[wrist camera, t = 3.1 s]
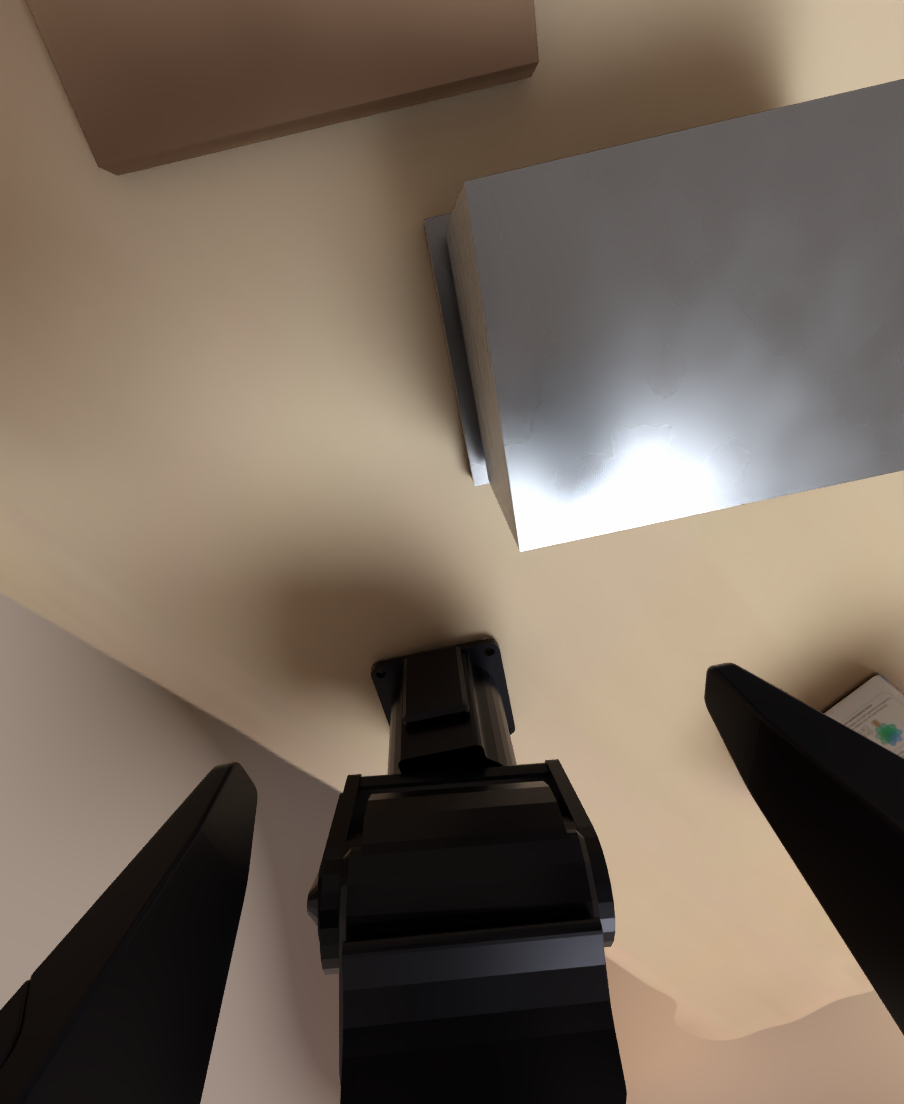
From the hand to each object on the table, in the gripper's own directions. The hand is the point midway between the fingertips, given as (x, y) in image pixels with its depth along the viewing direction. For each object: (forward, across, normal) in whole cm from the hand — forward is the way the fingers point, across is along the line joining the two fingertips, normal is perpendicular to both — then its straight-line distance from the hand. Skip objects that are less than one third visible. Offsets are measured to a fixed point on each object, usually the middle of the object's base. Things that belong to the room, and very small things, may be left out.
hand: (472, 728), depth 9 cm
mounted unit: (+13, -8, -4) cm, 16 cm away
